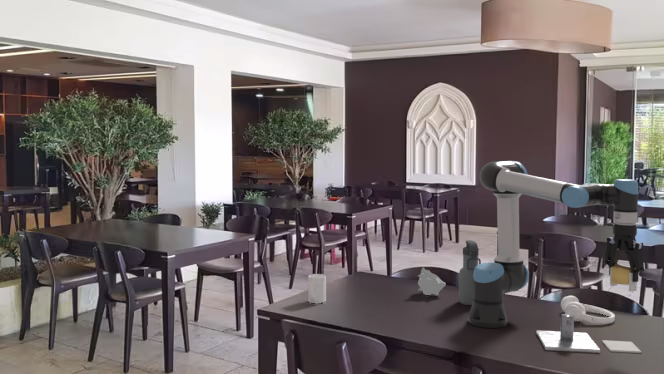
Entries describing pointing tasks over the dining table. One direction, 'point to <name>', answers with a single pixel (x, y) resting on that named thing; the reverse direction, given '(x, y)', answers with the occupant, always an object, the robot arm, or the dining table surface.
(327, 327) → the dining table surface
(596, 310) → the headphones
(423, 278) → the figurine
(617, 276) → the cap
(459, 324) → the dining table surface
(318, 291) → the pale gray rounded block
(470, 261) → the water bottle
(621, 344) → the mat
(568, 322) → the post fixture
